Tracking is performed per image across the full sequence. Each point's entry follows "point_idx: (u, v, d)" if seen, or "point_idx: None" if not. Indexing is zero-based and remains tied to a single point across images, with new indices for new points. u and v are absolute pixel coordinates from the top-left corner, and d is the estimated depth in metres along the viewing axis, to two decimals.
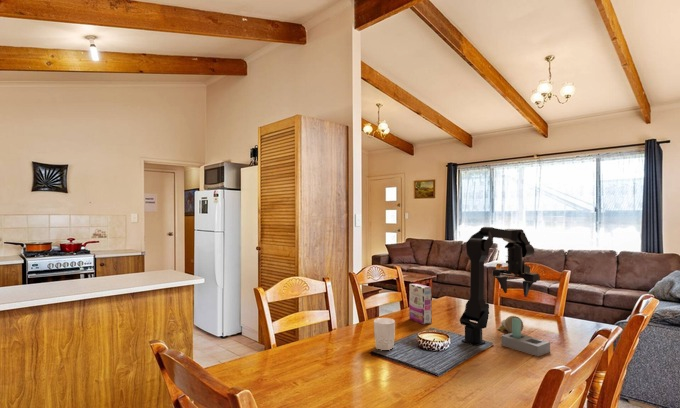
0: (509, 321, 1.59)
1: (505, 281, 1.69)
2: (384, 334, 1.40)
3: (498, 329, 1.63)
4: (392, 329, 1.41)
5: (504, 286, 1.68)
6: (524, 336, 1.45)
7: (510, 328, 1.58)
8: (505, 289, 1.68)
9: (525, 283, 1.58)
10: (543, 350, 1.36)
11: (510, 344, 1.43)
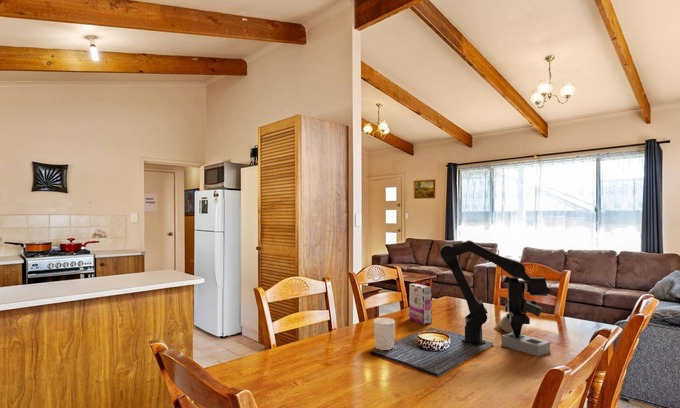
0: (505, 320, 1.59)
1: None
2: (384, 334, 1.40)
3: (495, 328, 1.64)
4: (392, 329, 1.41)
5: None
6: (524, 336, 1.45)
7: (506, 327, 1.59)
8: None
9: (509, 321, 1.42)
10: (543, 350, 1.36)
11: (510, 344, 1.43)
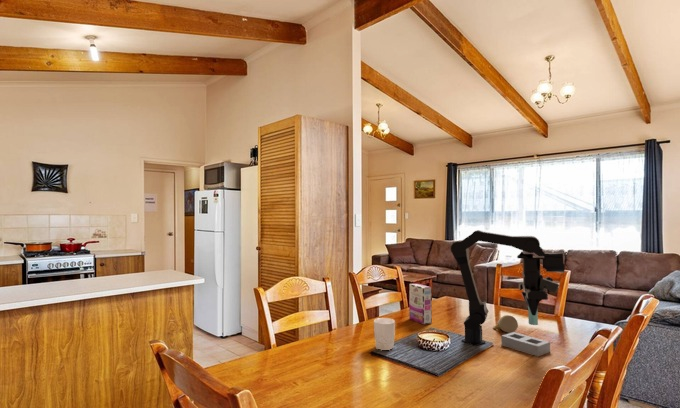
0: (503, 320, 1.60)
1: None
2: (384, 334, 1.40)
3: (493, 328, 1.65)
4: (392, 329, 1.41)
5: None
6: (524, 336, 1.45)
7: (504, 327, 1.59)
8: None
9: (525, 298, 1.37)
10: (543, 350, 1.36)
11: (510, 344, 1.43)
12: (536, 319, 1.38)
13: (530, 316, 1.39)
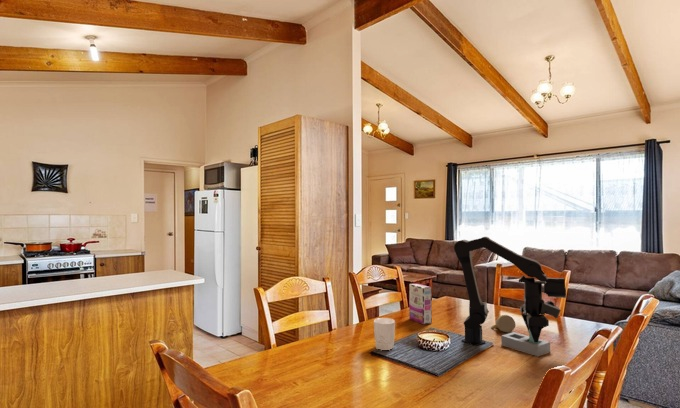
0: (500, 320, 1.60)
1: None
2: (384, 334, 1.40)
3: (491, 327, 1.66)
4: (392, 329, 1.41)
5: (529, 326, 1.43)
6: (524, 336, 1.45)
7: (501, 327, 1.60)
8: None
9: (528, 325, 1.35)
10: (543, 350, 1.36)
11: (510, 344, 1.43)
12: None
13: None
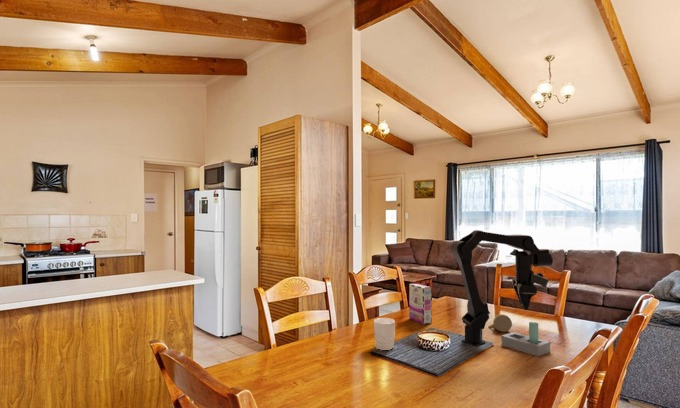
0: (497, 319, 1.61)
1: None
2: (384, 334, 1.40)
3: None
4: (392, 329, 1.41)
5: (519, 296, 1.55)
6: (524, 336, 1.45)
7: (497, 326, 1.61)
8: (521, 300, 1.55)
9: (518, 294, 1.46)
10: (543, 350, 1.36)
11: (510, 344, 1.43)
12: None
13: None
